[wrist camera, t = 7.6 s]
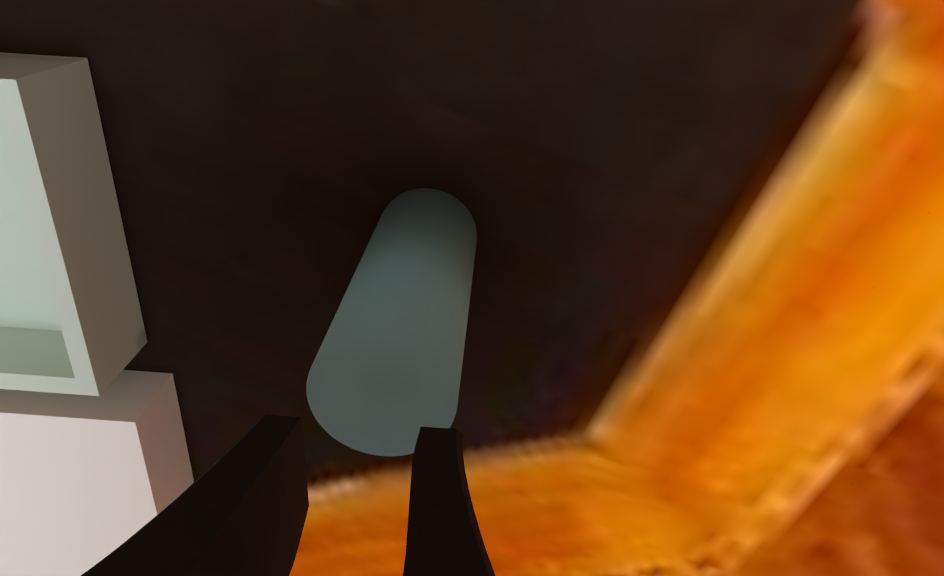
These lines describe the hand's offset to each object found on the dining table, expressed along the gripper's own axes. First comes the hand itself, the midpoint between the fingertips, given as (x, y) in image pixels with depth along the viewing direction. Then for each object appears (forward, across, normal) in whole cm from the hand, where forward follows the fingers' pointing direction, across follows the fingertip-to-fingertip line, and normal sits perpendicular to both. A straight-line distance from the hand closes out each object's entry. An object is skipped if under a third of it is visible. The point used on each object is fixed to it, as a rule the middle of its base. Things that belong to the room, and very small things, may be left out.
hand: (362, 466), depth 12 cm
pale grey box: (+10, +12, +10) cm, 19 cm away
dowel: (+10, 0, 0) cm, 10 cm away
